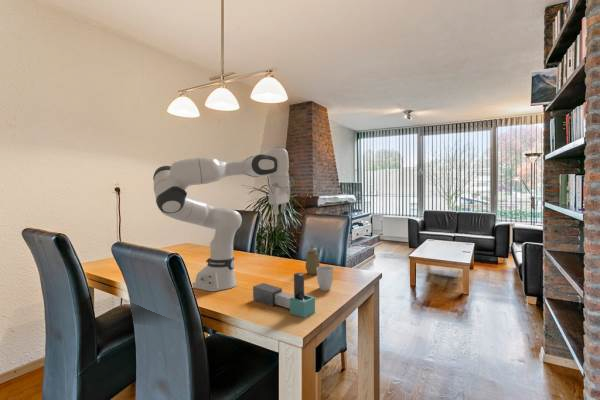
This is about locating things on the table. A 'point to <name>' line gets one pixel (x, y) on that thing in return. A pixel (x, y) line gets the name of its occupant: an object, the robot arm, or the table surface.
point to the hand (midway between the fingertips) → (279, 213)
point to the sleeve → (265, 293)
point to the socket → (302, 306)
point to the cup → (325, 277)
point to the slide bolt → (284, 298)
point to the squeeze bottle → (312, 260)
